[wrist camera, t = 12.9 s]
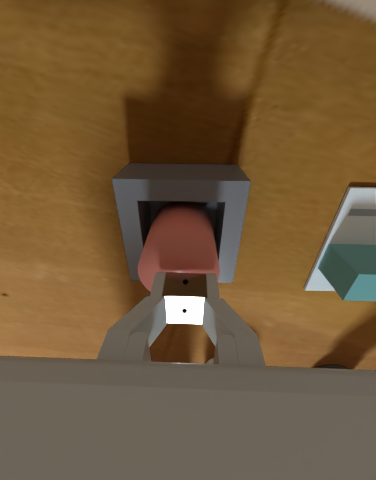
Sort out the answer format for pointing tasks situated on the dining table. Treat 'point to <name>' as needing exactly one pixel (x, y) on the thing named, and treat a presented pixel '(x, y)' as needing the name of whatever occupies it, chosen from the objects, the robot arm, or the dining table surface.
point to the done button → (179, 242)
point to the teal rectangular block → (351, 270)
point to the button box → (182, 189)
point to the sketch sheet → (348, 229)
